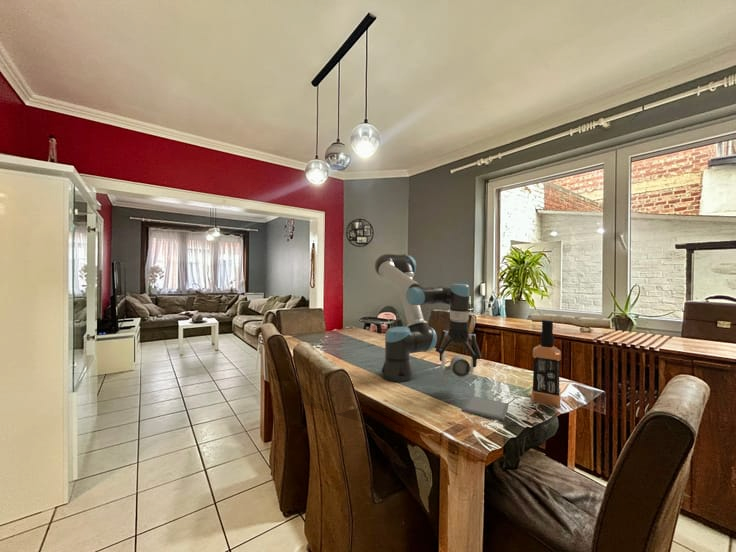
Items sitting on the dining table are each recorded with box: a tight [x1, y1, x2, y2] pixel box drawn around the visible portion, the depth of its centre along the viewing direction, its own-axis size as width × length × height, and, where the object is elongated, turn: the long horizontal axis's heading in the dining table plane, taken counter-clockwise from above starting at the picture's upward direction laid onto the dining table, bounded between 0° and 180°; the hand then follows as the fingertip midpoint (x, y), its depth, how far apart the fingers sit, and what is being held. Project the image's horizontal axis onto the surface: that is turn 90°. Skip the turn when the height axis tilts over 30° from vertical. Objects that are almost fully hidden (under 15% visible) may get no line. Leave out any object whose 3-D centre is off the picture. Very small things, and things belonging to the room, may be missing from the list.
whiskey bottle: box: [530, 319, 562, 408], centre depth 122 cm, size 10×10×32 cm
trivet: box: [461, 395, 510, 422], centre depth 114 cm, size 14×14×1 cm
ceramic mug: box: [442, 355, 471, 378], centre depth 129 cm, size 11×8×8 cm
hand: (457, 371), depth 129 cm, fingers closed on ceramic mug, 11 cm apart
